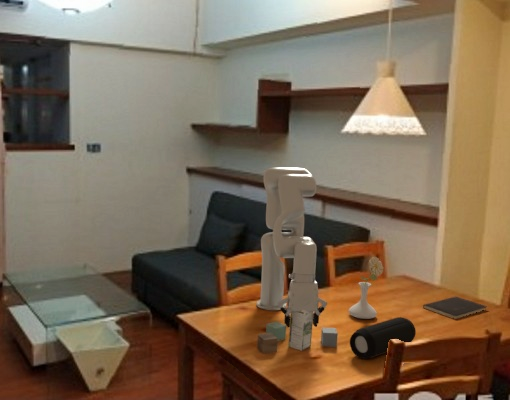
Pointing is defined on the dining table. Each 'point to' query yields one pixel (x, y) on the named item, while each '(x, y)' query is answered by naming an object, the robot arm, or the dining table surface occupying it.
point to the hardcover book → (454, 307)
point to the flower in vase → (362, 306)
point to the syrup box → (300, 329)
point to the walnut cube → (267, 343)
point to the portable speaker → (381, 337)
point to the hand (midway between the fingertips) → (301, 325)
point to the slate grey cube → (329, 337)
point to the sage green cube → (277, 330)
